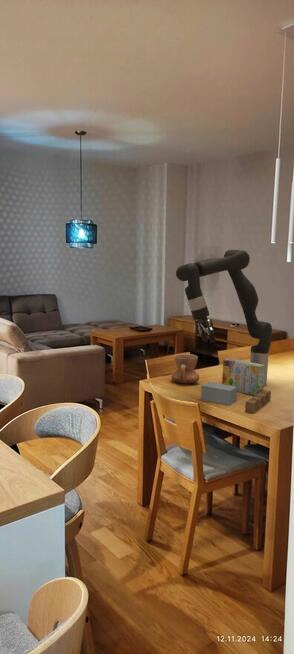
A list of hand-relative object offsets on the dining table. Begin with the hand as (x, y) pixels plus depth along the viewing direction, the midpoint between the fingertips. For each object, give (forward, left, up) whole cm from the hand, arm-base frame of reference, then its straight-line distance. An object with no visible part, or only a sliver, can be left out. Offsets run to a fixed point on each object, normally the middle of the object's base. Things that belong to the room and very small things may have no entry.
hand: (209, 341), depth 212 cm
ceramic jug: (-24, -23, -28) cm, 43 cm away
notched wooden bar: (-8, +22, -27) cm, 36 cm away
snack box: (-27, +7, -28) cm, 39 cm away
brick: (-5, +4, -28) cm, 28 cm away
